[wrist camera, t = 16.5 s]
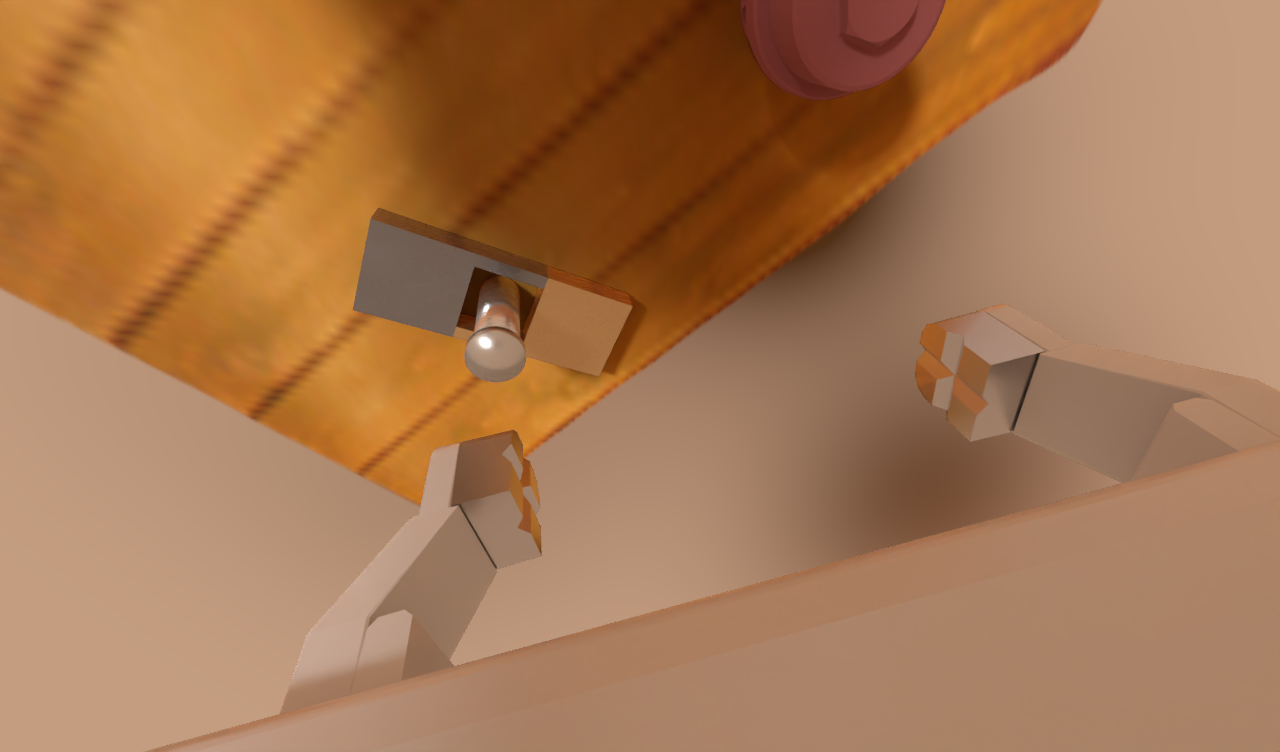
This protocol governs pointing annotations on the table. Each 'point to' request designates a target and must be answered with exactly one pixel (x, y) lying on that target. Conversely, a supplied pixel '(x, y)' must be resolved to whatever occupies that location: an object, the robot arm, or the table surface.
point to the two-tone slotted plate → (439, 278)
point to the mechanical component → (836, 41)
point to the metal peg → (496, 333)
